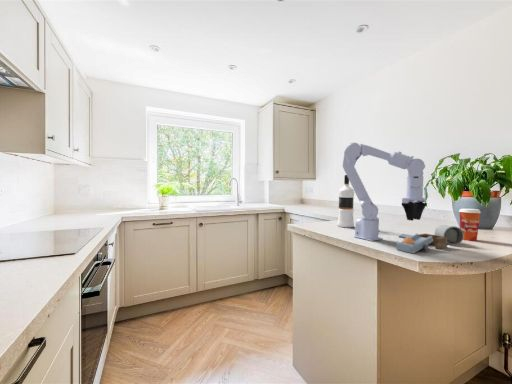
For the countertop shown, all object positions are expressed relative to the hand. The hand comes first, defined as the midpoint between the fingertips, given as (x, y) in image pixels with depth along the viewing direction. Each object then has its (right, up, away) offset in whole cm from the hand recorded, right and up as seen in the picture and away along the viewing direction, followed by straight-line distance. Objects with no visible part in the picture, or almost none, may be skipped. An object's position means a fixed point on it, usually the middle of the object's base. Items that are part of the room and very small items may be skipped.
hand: (413, 219), depth 103 cm
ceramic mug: (+15, -10, +2) cm, 18 cm away
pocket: (+5, -10, -4) cm, 12 cm away
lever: (-7, -9, -7) cm, 13 cm away
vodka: (-14, -9, +39) cm, 43 cm away
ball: (-10, -7, -12) cm, 17 cm away
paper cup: (+31, -10, +9) cm, 34 cm away
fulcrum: (-6, -10, -10) cm, 15 cm away
